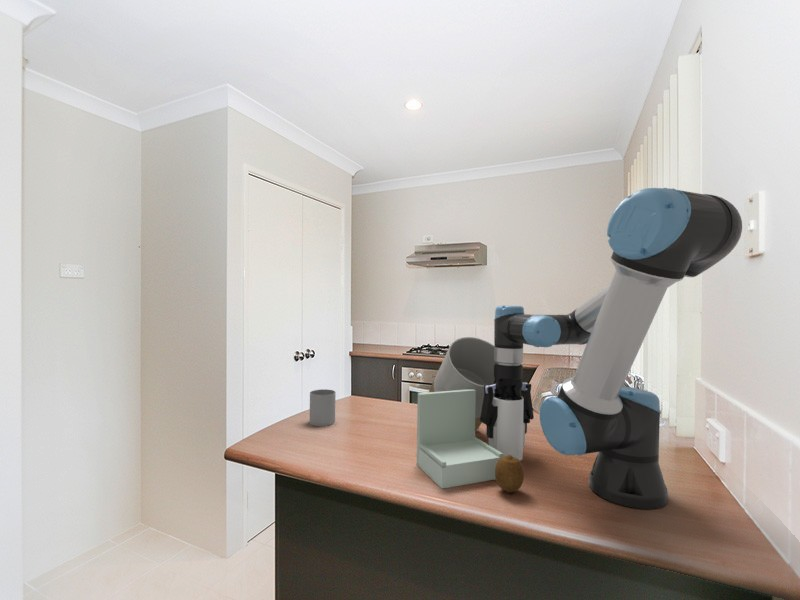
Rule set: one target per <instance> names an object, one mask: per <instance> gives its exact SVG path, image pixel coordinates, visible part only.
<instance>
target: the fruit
mask: <svg viewBox="0 0 800 600" xmlns="http://www.w3.org/2000/svg"><path fill="white" fill-rule="evenodd" d="M495 478H496V479H495V481H496V483H497V485H498V487H499V488H500V489H501V490H503V491H505V492H506V493H514V492H517V491H518V490H519V489H520V488H521V487H522V486H523V483H524V479H525V472H524V467H523V464H522V463H521V461H519V460H518V459H517V458H515V457H512V456H511V455H508V456H503V457H501V458H500V459H499V460H498V462H497V463H496V466H495Z"/></svg>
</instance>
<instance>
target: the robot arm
mask: <svg viewBox="0 0 800 600" xmlns="http://www.w3.org/2000/svg"><path fill="white" fill-rule="evenodd" d="M742 232H743V220H742V215H741V214H740V212H739V210H738V208H737V207H735V205H734V204H733V203H731V202H730V201H728V200H727V199H725V198H723V197H720V196H718V195H714V194H710V193H709V194H707V193H704V194H703V193H700V192H693V191H687V190H686V191H685V190H681V189H675V188H674V187H673V188H667V187H649V188H643V189H642V188H641V189H640V190H637V191H635V192H634V193H631V195H628V196H627V197H625V198H624V199H623V200H621V202H620V203H619V204H618V205H617V206H616V208H615V209H614V211H613V212H612V214H611V216H610V218H609V220H608V223H607V229H606V235H607V236H606V237H608V238H609V239H608V240H607V241H608V244H609V247H610V249H611V250H612V251H613V252H612V254H611V256H610V261H611V263H612V265H613V266H614V268H615V271H614V274H613V277H612V279H611V282H610V283H609V284H607V285H606V286H605V287H603V288H602V289H601V290H600V291H598V292H597V293H596V294H594V295H593V296H592V297H590V298H589V299H587V301H585V302H584V303H583V304H581V305H580V306H579V307H577V308H576V309H575V310H573V311H571V312H569V313H568V314H527V313H526V314H525V309H524V307H523V306H521V305H497V306H496V307H495V311H494V313H495V314H494V320H493V321H494V333H493V334H494V335H493V336H494V337H493V338H494V340H493V343H494V344H493V345H494V361H495V362H496V363H495V364H494V378H495V381H494V383H493V385H489V386H488V385H484V399H483V405H482V410H481V416H480V422H482V423H481V424H483V425H486V437H487V438H488V443H487V444H488V445H490V446H491V447H493V448H495V449H496V450H497V426H495V422H496V420H497V417H498V406H494V405H493V404H492V402H493V393H495V391H496V393H495V395H494V397H495V398H497V399H502V400H506V399H508V398H511V399H512V400H521V399H522V398H521V396H522V397H523V398H524V407H523V448H525V447H526V445H525V444H526V442H525V441H526V434H527V432H528V424H530V423H531V420H534V419H535V418H534V416H535V415H534V409H533V401H532V393H531V392H532V384H531V383H528V382H526V381H522V378H523V377H524V376H523V375H524V374H523V373H524V372H523V371H524V369H523V368H524V367H523V366H524V365H522V363H523V362H524V345H529V346H533V347H535V348H551V347H552V346H560V345H580V346H581V345H585V347H584V350H583V352H582V355H581V358H580V361H579V363H578V365H577V368H576V371H575V373H574V376H572V377H567V378H566V379H564V380H563V382H562V384H561V387H560V389H559V391H558V394H557V396H553V395H552V396H549V397H548V398H546V399H544V400H543V401H542V402H541V405H540V407H539V408H540V409H539V423H540V426H541V430H542V433H543V435H544V437H545V439H546V441H547V443H548V444H549V445H550V446H551V447H552V448H553V449H554V451H556V452H557V453H559V454H561V455H564V456H583V455H588V454H594V453H597V455H596V457H595V460H594V462H593V466H592V467H591V468H592V469H591V471H590V473H589V476H588V477H589V478H588V479H589V481H588V482H589V488H590V489H591V491H592V492H594V493H595V494H596V495H598V496H599V497H600V498H603V499H605V500H607V501H609V502H612V503H614V504H617V505H621V506H623V507H624V506H625V507H628V508H629V507H630V508H634V509H644V510H653V509H654V510H655V509H660V508H663V507H664V506H666V505H667V504H668V502H669V501H668V498H669V495H668V494H669V492H668V488H667V485H666V482H665V480H664V475H663V473H662V469H661V466H660V463H659V462H660V461H659V460H660V459H659V457H660V455H659V453H660V428H661V427H660V423H661V422H660V421H661V419H660V418H661V414H662V411H661V408H660V405H661V404H660V402H661V401H660V398H659V397H658V395H656V394H655V393H654V392H652V391H648V390H646V389H641V388H635V387H631V386H630V387H629V386H626V385H625V382H626V379H627V377H628V375H629V373H630V371H631V369H632V367H633V365H634V362H635V361H636V358H637V356H638V353H639V351H640V349H641V346H642V344H643V343H644V341H645V338H646V336H647V334H648V332H649V330H650V327H651V325H652V323H653V321H654V318H655V316H656V314H657V312H658V310H659V308H660V305H661V303H662V301H663V299H664V297H665V294H666V292H667V290H668V288H670V287H671V286H672V285H674V284H676V283H679V282H681V281H683V280H684V278H685V277H687V278H695V277H697V276H699V275H701V274H703V273H704V272H706V271H707V270H709V269H711V268H712V267H713V266H714V265H716V264H718V263H719V262H721V261H722V260H723V259H725V258H726V257H727V256H728V255H729V254H730V253H731V252H732V251H733V250H734V249H735V248H736V246H737V244H738V243H739V241H740V239H741V237H742ZM494 390H495V391H494ZM499 396H500V397H501V398H499Z"/></svg>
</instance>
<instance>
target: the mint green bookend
mask: <svg viewBox="0 0 800 600" xmlns="http://www.w3.org/2000/svg"><path fill="white" fill-rule="evenodd" d="M475 403H476V390H474V389H467V390H454V391H441V392H429V391H427V392H418V393H417V412H416V413H417V417H416V418H417V419H416V420H417V421H416V422H417V423H416V429H417V430H416V466H417V467H419V468H420V469H421V470H422V471H423V473H425V475H427V476H428V477H429V478H430V479H431V480H432V481H433V482H434V483H435V484H436V485H437V486H439V488H440V489H447V488H454V487H459V486H465V485H471V484H477V483H483V482H488V481H494V480H495V481H496V478H495V466H496V463H497V462H498V460H499V459H500V458H501V457H503V453H501V452H500V451H498V450H496V449H495V448H493V447H491V446H490V445H488V444H489V443H486V442H485V441H483V440H482V439H480V438H478V437H476V431H475Z"/></svg>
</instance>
